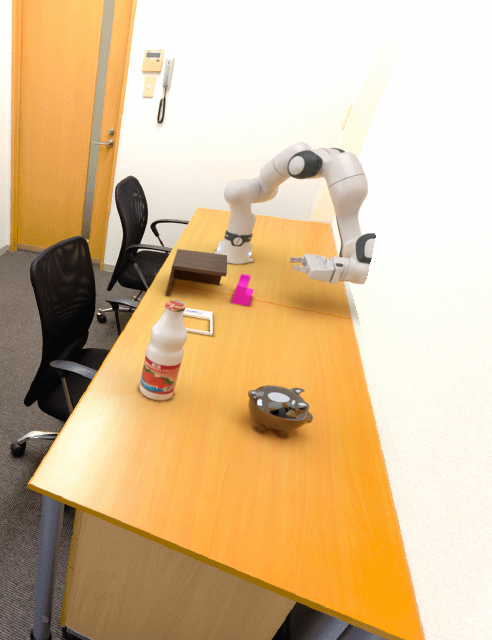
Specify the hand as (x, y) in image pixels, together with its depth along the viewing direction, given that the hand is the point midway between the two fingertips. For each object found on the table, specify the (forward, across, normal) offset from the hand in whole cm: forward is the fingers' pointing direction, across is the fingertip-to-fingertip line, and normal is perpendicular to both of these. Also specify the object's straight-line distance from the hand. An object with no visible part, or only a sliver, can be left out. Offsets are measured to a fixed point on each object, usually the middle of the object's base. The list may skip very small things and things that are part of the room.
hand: (291, 263), depth 164 cm
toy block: (+13, 0, +17) cm, 21 cm away
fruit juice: (+37, +81, +18) cm, 90 cm away
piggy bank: (+8, +84, +18) cm, 86 cm away
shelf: (+32, 0, +17) cm, 36 cm away
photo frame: (+31, +31, +17) cm, 47 cm away
